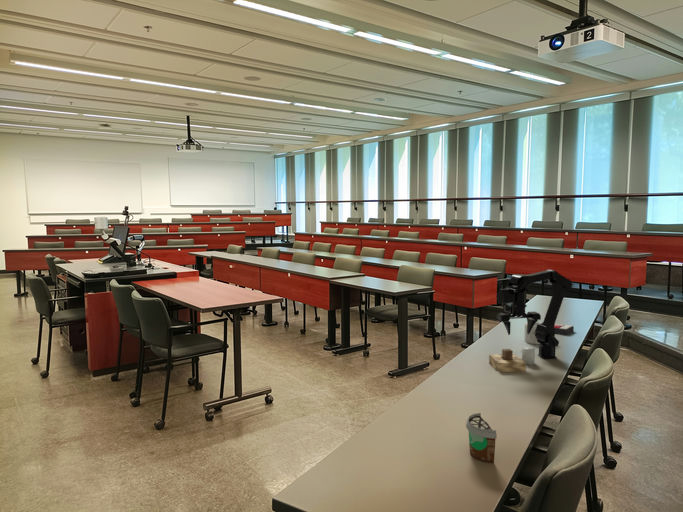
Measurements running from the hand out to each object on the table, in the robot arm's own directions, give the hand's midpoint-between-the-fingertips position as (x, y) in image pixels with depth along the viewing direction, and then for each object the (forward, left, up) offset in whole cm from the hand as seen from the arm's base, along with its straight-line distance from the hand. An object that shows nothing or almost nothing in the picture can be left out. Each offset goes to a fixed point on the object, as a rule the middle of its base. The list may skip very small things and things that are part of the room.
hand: (518, 334), depth 216 cm
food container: (+47, +82, -13) cm, 95 cm away
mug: (-23, -30, -13) cm, 40 cm away
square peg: (+9, +8, -13) cm, 18 cm away
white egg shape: (-3, +3, -13) cm, 14 cm away
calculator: (-44, -50, -13) cm, 68 cm away
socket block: (+9, +8, -13) cm, 17 cm away
